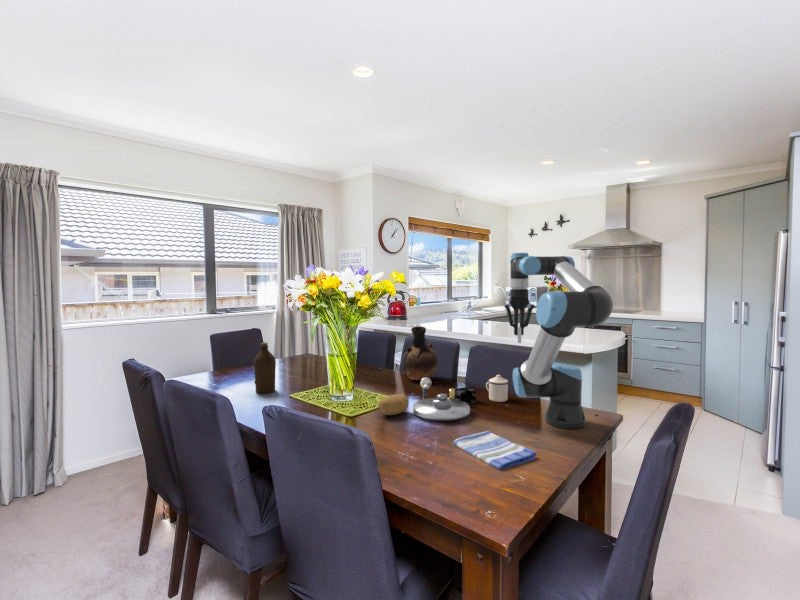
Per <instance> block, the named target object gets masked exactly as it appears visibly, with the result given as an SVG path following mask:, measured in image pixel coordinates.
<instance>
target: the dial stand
mask: <svg viewBox="0 0 800 600" xmlns="http://www.w3.org/2000/svg"><path fill="white" fill-rule="evenodd" d="M419 381H420V383H419V384H420V386H421V388H422V400H423V399H428V389H429V388H431V386H432V380H431V378H427V377H424V378H422V379H421V380H419Z"/></svg>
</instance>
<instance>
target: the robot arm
mask: <svg viewBox="0 0 800 600" xmlns="http://www.w3.org/2000/svg"><path fill="white" fill-rule="evenodd" d="M529 276H553V277H555V278H556V279H558V281H559V282H560V283H561V284H562V285H563V286H564V287H565V288H566V290H568V291H566V290H565V291H561V290H552V291H547V292H543V294H541V295H540V297H539V299H538V301H537V303H536V310H535V317H536V321H537V324H538V325H539V326H540V329H539V331H538V334H537V336H536V340H535V341H534V344H533V347H532V349H531V351H530V354H529V357H528V358H527V360H525V361H523V363H521V366H520V367H513V369H512V384H513V388H514V392H515V394H516V396H517V397H518V398H525V399H527V398H528V399H529V398H530V399H534V398H535V399H536V398H537V399H538V398H549V403H548V406H547V409H546V412H545V413H544V414H545V415H544V421H545V422H546V423H547V424H548V425H550V426H552V427H555V428H560V429H566V430H567V429H568V430H577V428H578V429H582V428H584V427H585V426H586V425H585V424H587V423H586V416H585V412H584V410H583V406H582V390H583V389H582V386H583V385H582V384H583V383H582V382H583V376H582V370H581V369H580V368H579V367H578V366H574V365H572V364H567V363H561V362H555V361H556V358H557V356H558V354H559V352H560V350H561V347H562V345H563V343H564V341H565V339H566V338H568V337H570V336H572V335H573V333H574V331H575V330H576V328H579V327H580V328H586V327H588V328H589V327H590V328H592V327H596V326H599V325H602V324H603V323H604V322H606V321H607V320H608V319H609V318H610V316H611V314H612V312H613V309H614V308H613V306H614V303H613V299H612V296H611V295H610V293H609V292H608V291H607V290H606V289H605V288H603V287H602V286H600V285H595V284H594V283H593V282H592V281H591V280H589V279H588V278H587V277H586V275H584V274H583V273H582V272H580V271H579V270H578V269H577V268H576V264H575V261H574V258H573V257H572V256H565V255H560V256H533V255H530V254H529V253H528V252H513V253H511V254H510V285H509V286H510V287H509V288H510V293H509V294H510V295H509V296H510V298H509V301H508V303H506V304H504V305H503V307H504V309H505V310H506V315H507V320H508V323H509V326H510V327H513V335H514V336H515V337H516V338H515V341H516V343H517V344H521V343H522V336H524V328H527V327H528V326H529V323H530V320H531V315H532V312H533V310H534V308H535V304H532V303H531V302H530V300H529V289H528V288H529ZM511 307H512V309H513V315H512V312H511ZM526 309H527V311H526V315H525V310H526ZM583 426H584V427H583ZM581 427H582V428H581Z"/></svg>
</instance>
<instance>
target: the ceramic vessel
mask: <svg viewBox="0 0 800 600" xmlns="http://www.w3.org/2000/svg"><path fill="white" fill-rule="evenodd" d="M410 330H411V333H412V337H413V340H412V344H413V345H412V346H408V347H407V348H406V352H405V353H404V355H403V357H402V361H401V364H402V365H401V366H402V369H403V371H404V373H405V375H406V376H407V377H408V378H409V379H411V380H413V381H421V379H422V378H424V377H427V378H429V379H431V377H432V376H433V375H434V374H435V372H436V370H437V368H438V365H439V360H438V355H437V354H436V351H435V350H434V348H433V344H432V343H428V344H426V341H427V339H426V337H425V336H426V332H427V328H426V327H425V326H421V325H419V326H417V325H416V326H413V327H412V328H411V329H410Z"/></svg>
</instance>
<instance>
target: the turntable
mask: <svg viewBox="0 0 800 600" xmlns="http://www.w3.org/2000/svg"><path fill="white" fill-rule="evenodd" d="M455 389H456V388H449V398H450V399H451V400H452V407H451V408H449V409H436V408H434V407H433V398H434V397H432V398H427V399H423V398H422V399H420V400H418V401H417V400H416V402H414V403H413V405H412V410H413V414H414V415H416V416H417V417H419V418H423V419H425V420H430V421H442V422H443V421H448V422H449V421H457V420H461V419H464V418H466V417H468V416H469V415H470V414H471V411H470V409H471V408H470V407H471V406H470V404H467V403H465V402H463V401H460V400H456V399H455Z"/></svg>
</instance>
